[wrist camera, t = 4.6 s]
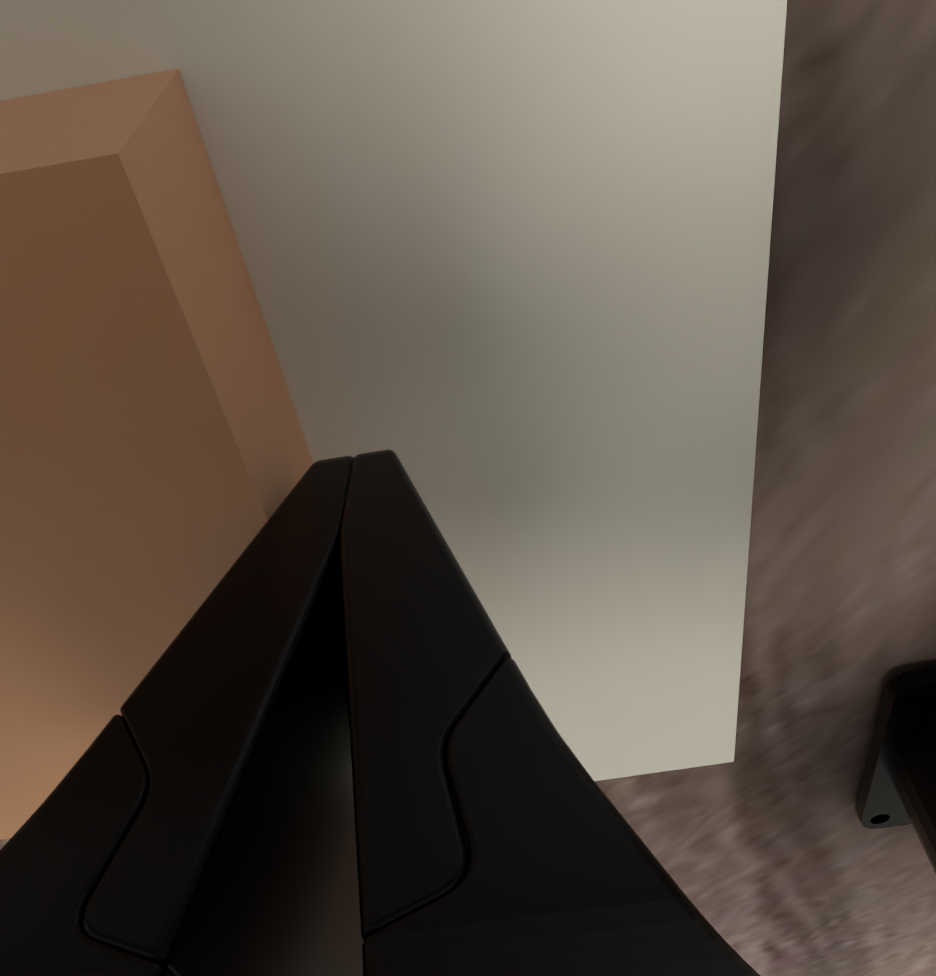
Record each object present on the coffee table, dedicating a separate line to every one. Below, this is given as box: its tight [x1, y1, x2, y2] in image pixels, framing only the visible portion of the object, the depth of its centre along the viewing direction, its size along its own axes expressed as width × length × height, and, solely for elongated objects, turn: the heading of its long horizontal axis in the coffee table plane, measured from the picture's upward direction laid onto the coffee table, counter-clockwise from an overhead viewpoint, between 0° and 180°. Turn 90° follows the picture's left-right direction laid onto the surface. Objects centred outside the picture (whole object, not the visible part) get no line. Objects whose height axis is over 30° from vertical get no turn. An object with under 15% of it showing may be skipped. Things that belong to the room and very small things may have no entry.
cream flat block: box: [0, 0, 787, 781], centre depth 11 cm, size 16×12×4 cm
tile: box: [0, 69, 313, 840], centre depth 9 cm, size 8×6×2 cm
